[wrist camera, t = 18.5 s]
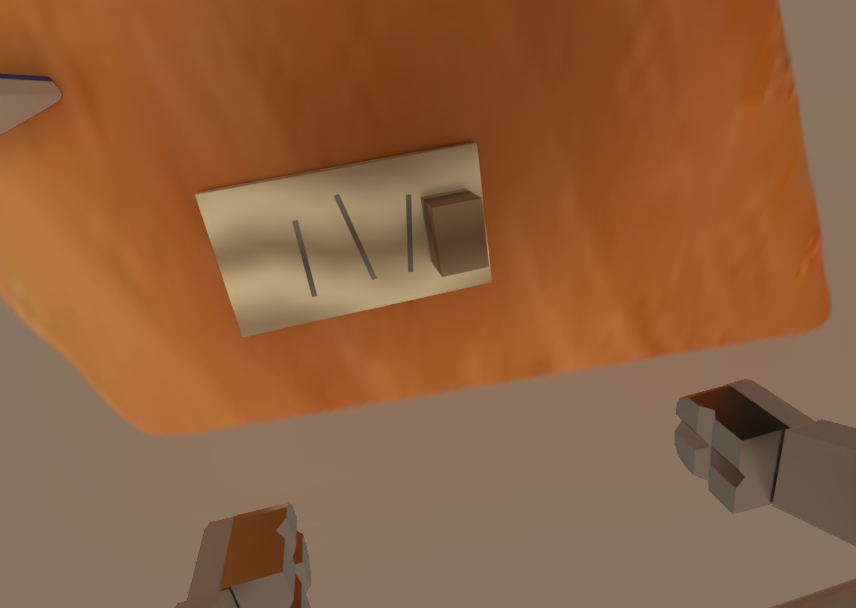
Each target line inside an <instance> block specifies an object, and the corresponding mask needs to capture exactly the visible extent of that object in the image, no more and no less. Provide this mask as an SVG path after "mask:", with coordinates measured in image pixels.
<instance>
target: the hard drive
mask: <svg viewBox="0 0 856 608" xmlns="http://www.w3.org/2000/svg"><path fill="white" fill-rule="evenodd" d="M61 97H62V93H61V92H60V90H59V89H58V88H57V86H56V85H55V84H54V82H53V81H52V80H51V79H50V78H49V77H43V76H26V75H13V74H0V135H1V134H3V133H5V132H7V131H8V130H10V129H12V128H14V127H15V126H17V125H19V124H21V123H22V122H24V121H26V120H27V119H29V118H31V117H33V116H34V115H36V114H38V113H40V112H41V111H43V110H45V109H46V108H48V107H50V106H52V105H53V104H55V103H57V102H58V101H59V100H60V99H61Z"/></svg>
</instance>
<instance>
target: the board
mask: <svg viewBox="0 0 856 608" xmlns="http://www.w3.org/2000/svg"><path fill="white" fill-rule="evenodd" d="M465 188H466V189H467V190H469V191H471V192H472V193H474V194H476V195H477V196H479V197H481V198H482V205H483V215H484V224H485V233H486V242H487V251H488V241H487V232H486V223H485V213H484V204H483V195H482V185H481V176H480V167H479V157H478V148H477V143H475V142H467V143H462V144H457V145H451V146H446V147H440V148H435V149H429V150H424V151H418V152H413V153H407V154H402V155H397V156H391V157H386V158H380V159H375V160H369V161H364V162H358V163H353V164H347V165H342V166H337V167H331V168H326V169H320V170H315V171H309V172H304V173H298V174H293V175H287V176H282V177H277V178H271V179H266V180H260V181H255V182H249V183H244V184H238V185H233V186H227V187H222V188H217V189H211V190H206V191H200V192H198V193H196V194H195V196H196V199H197V202H198V205H199V208H200V211H201V214H202V217H203V220H204V223H205V226H206V229H207V232H208V235H209V238H210V241H211V244H212V247H213V250H214V253H215V256H216V259H217V262H218V265H219V268H220V271H221V274H222V277H223V280H224V283H225V286H226V289H227V292H228V295H229V298H230V301H231V304H232V307H233V310H234V313H235V316H236V319H237V322H238V325H239V328H240V331H241V334H242V337H246V336H251V335H256V334H260V333H265V332H269V331H274V330H278V329H283V328H287V327H292V326H296V325H301V324H305V323H310V322H314V321H319V320H323V319H328V318H332V317H337V316H341V315H346V314H350V313H355V312H359V311H364V310H368V309H373V308H377V307H382V306H386V305H391V304H395V303H400V302H404V301H409V300H413V299H418V298H422V297H427V296H432V295H436V294H441V293H445V292H450V291H454V290H459V289H463V288H468V287H472V286H477V285H481V284H486V283H490V282H492V279H491V269H490V260H489V251H488V261H489V267H486V268H482V269H477V270H473V271H468V272H463V273H459V274H454V275H450V276H445V277H442V276H441V275H440V273H439V272H438V271H437V269H436V268H435V266H434V265H433V264H432V262H431V261H430V255H429V248H428V242H427V236H426V229H425V223H424V217H423V210H422V204H421V198H420V197H425V196H430V195H435V194H440V193H445V192H450V191H455V190H460V189H465Z"/></svg>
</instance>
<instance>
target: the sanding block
mask: <svg viewBox="0 0 856 608" xmlns="http://www.w3.org/2000/svg"><path fill="white" fill-rule="evenodd" d="M420 198H421V204H422V210H423V217H424V223H425V229H426V236H427V242H428V248H429V255H430V261H431V262H432V264H433V265H434V266H435V268H436V269H437V271H438V272H439V273H440V275H441V276H442V277H445V276H450V275H454V274H459V273H463V272H468V271H473V270H477V269H482V268H486V267H489V261H488V251H487V242H486V233H485V224H484V215H483V205H482V198H481V197H479V196H477V195H476V194H474V193H472V192H471V191H469V190H467V189H466V188H465V189H460V190H455V191H450V192H445V193H440V194H435V195H430V196H425V197H420Z"/></svg>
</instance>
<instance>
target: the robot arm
mask: <svg viewBox="0 0 856 608" xmlns="http://www.w3.org/2000/svg"><path fill="white" fill-rule="evenodd" d="M676 415H677V416H678V417H679V418H680V419H681V420H682V421H681V423H680V424H679V426H678V427H677V429H676V430H675V446H676V450H677V452H678V455H679V457H680V459H681V460H682V462H683V464H684V465H685V466H686V468H687V469H688V470H689V471H690V472H691V473H692V474H693V475H695V476H698V477H700V478H703V479H705V480H708V489H709V491H710V492H711V493H712V494H713V495H714V496H715V497H716V498H717V499H718V500H719V501H720V502H721V503H722V504H723V505H724V506H725V507H726V508H727V509H728V510H729V511H730V512H731V513H732V514H735V513H739V512H743V511H747V510H750V509H754V508H757V507H761V506H765V505H769V504H773V505H772V506H774V507H776V508H778V509H780V510H782V511H784V512H786V513H788V514H790V515H792V516H794V517H797V518H798V519H801V520H803V521H805V522H807V523H809V524H811V525H813V526H815V527H817V528H819V529H821V530H823V531H825V532H828V533H829V534H831V535H833V536H836V537H838V538H840V539H842V540H844V541H846V542H848V543H850V544H852V545H854V546H856V428H853V427H849V426H845V425H841V424H838V423H834V422H830V421H826V420H818V421H814V420H812V419H811V418H810V417H808V416H806V415H805V414H803V413H802V412H800V411H799V410H797V409H796V408H794V407H793V406H791V405H790V404H788V403H787V402H785V401H783V400H782V399H780V398H779V397H777V396H775V395H774V394H773V393H771V392H770V391H768V390H767V389H765V388H763V387H762V386H760V385H759V384H757V383H756V382H754V381H751V380H747V379H744V380H740V381H737V382H734V383H730V384H726V385H724V386H722V387H718V388H714V389H710V390H706V391H703V392H699V393H695V394H692V395H688V396H685V397H681V398H680V399H679V401H678V403H677V407H676ZM296 528H297V516H296V514H295V511H294V509H293V506H292V504H290V503H285V504H281V505H277V506H273V507H269V508H265V509H261V510H256V511H252V512H248V513H244V514H240V515H237V516H235V517H231V518H226V519H222V520H218V521H213V522H210V523H209V524H208V525H207V527H206V528H205V530H204V534H203V538H202V542H201V546H200V550H199V554H198V558H197V562H196V566H195V570H194V574H193V578H192V582H191V586H190V590H189V594H188V598H187V601H184V602H181V603H178V604H177V605H176V606H175V608H311V607H310V605H309V602H308V599H307V596H306V592H307V591H308V589H309V588H310V586H311V571H310V563H309V555H308V551H307V546H306V542H305V539H304V536H303V534H302V533H300V532H298V531H296ZM770 608H856V579H853V580H850V581H847V582H844V583H841V584H838V585H835V586H832V587H829V588H826V589H823V590H820V591H817V592H814V593H811V594H809V595H805V596H803V597H799V598H796V599H794V600H790V601H788V602H785V603H782V604H779V605H776V606H773V607H770Z"/></svg>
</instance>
